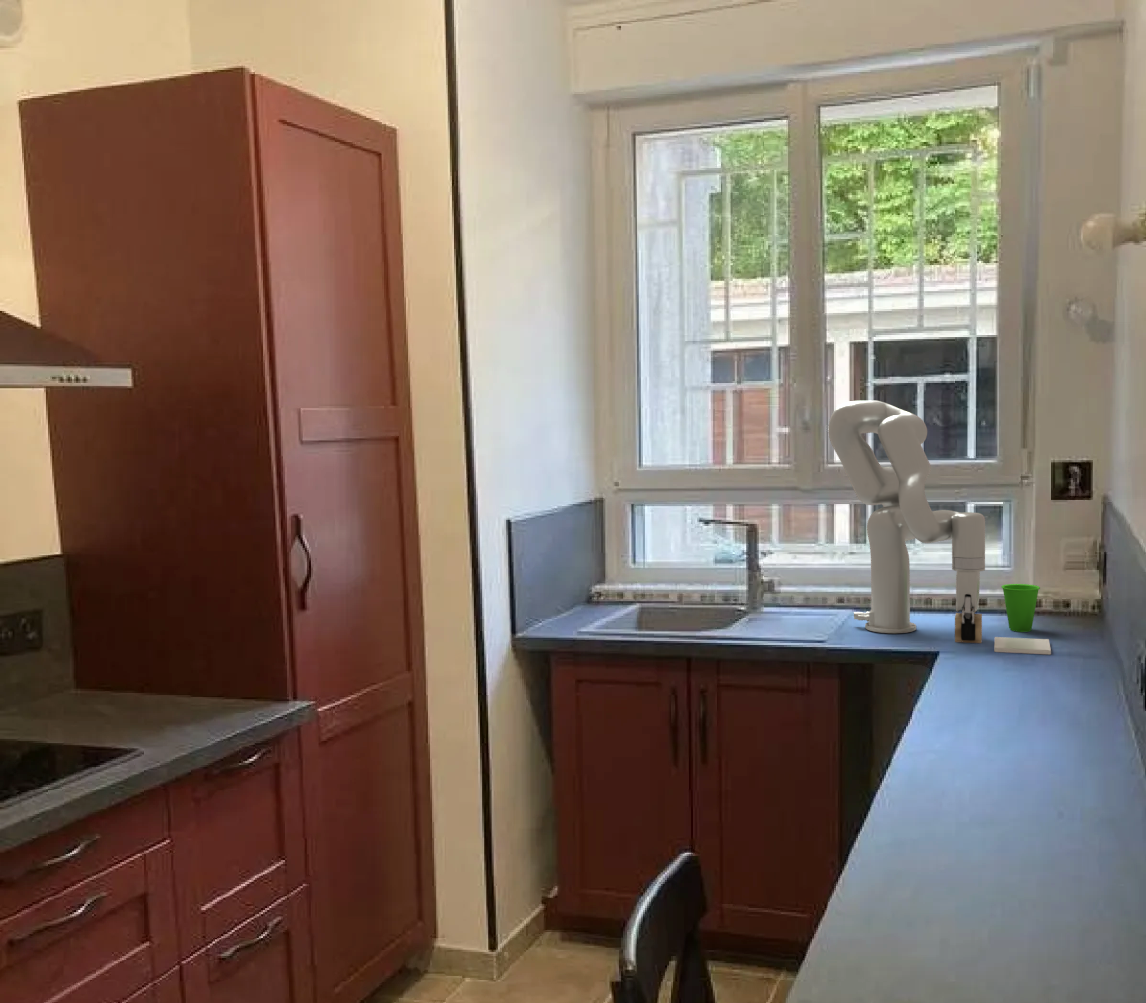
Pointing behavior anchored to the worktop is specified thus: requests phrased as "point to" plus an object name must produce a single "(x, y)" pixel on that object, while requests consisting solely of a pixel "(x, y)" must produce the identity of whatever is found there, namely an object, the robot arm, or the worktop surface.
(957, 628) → the block
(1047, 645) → the panel
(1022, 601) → the cup
